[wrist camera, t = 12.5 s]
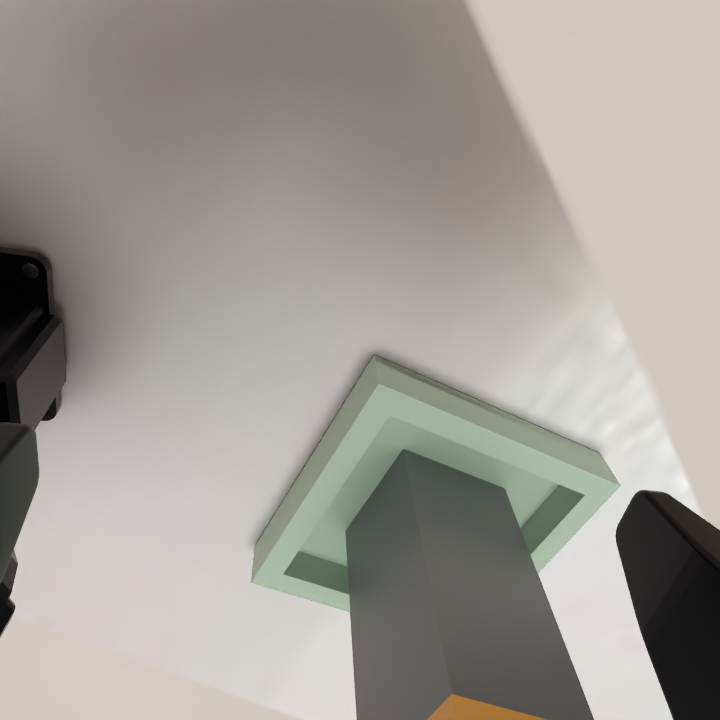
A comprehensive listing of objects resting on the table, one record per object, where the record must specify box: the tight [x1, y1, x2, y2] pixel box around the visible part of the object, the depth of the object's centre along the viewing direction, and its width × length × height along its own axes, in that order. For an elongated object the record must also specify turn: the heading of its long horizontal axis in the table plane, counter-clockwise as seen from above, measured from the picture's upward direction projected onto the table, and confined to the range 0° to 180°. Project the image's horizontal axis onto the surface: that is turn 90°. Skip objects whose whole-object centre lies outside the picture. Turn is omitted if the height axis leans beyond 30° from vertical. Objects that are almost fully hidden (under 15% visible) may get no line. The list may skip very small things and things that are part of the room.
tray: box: [251, 355, 620, 612], centre depth 26 cm, size 11×11×2 cm
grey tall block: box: [345, 449, 594, 720], centre depth 22 cm, size 5×5×12 cm
